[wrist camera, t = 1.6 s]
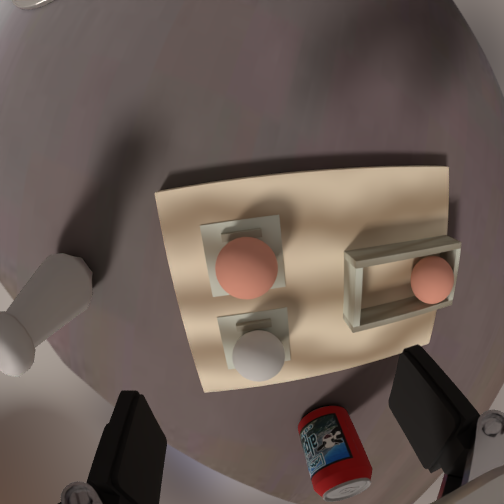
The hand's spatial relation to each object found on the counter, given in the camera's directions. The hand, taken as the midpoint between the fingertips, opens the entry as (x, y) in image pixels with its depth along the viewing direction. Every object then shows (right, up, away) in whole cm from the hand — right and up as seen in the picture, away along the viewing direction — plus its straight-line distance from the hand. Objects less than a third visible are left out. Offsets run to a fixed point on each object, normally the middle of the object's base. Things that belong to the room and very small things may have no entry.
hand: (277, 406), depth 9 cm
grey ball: (-1, -3, +16) cm, 16 cm away
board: (+6, +3, +17) cm, 18 cm away
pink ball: (+15, +3, +16) cm, 22 cm away
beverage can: (+8, -16, +23) cm, 30 cm away
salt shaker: (-17, +3, +15) cm, 23 cm away
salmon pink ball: (-1, +5, +14) cm, 15 cm away
